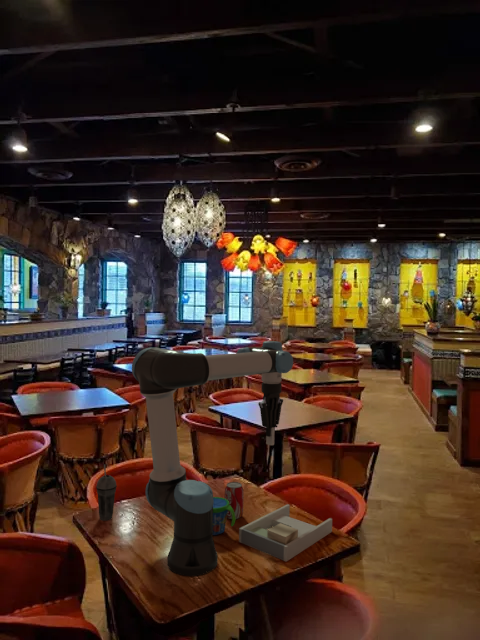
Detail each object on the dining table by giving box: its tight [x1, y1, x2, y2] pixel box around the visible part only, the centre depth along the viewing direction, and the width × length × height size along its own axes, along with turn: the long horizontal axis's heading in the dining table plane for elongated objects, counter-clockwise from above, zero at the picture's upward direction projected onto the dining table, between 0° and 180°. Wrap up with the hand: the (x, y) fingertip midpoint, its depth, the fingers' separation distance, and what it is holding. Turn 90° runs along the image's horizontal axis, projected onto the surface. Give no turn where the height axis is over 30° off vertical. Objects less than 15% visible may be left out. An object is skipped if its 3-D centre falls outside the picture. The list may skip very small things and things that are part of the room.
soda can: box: [224, 481, 244, 520], centre depth 183 cm, size 7×7×12 cm
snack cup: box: [212, 496, 236, 536], centre depth 171 cm, size 16×10×10 cm
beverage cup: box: [95, 464, 118, 522], centre depth 179 cm, size 7×7×20 cm
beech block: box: [267, 523, 298, 545], centre depth 158 cm, size 7×7×4 cm
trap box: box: [238, 503, 333, 562], centre depth 168 cm, size 28×19×4 cm
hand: (270, 444), depth 186 cm, fingers closed
